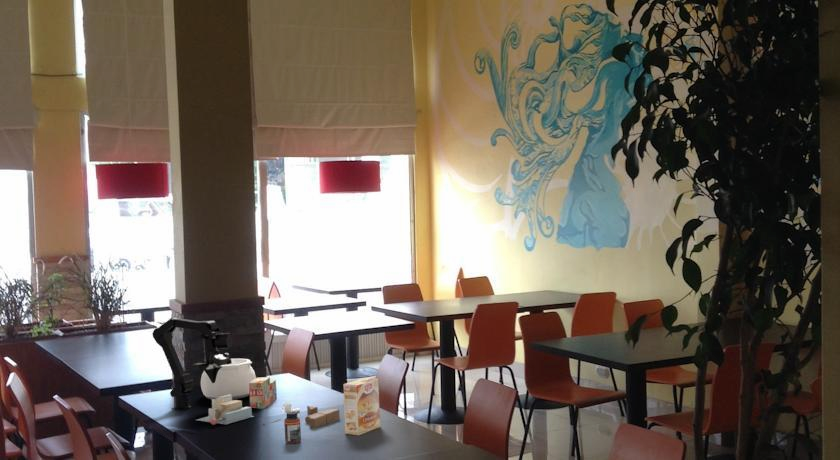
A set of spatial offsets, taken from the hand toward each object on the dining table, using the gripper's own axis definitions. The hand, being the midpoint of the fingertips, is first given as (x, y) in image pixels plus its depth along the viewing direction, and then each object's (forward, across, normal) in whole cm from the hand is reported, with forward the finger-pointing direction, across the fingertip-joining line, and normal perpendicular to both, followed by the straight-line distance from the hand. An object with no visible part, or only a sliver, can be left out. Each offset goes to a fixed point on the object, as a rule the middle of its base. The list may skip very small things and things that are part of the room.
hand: (213, 382), depth 390 cm
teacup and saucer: (+14, +10, -39) cm, 42 cm away
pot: (+12, +24, +19) cm, 33 cm away
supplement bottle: (+14, -25, -75) cm, 80 cm away
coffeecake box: (+15, +2, -87) cm, 88 cm away
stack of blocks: (+13, +18, -12) cm, 25 cm away
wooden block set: (+14, +2, -58) cm, 60 cm away
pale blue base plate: (+12, -16, -22) cm, 30 cm away
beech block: (+11, -13, -26) cm, 31 cm away
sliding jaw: (+11, -13, -22) cm, 28 cm away
